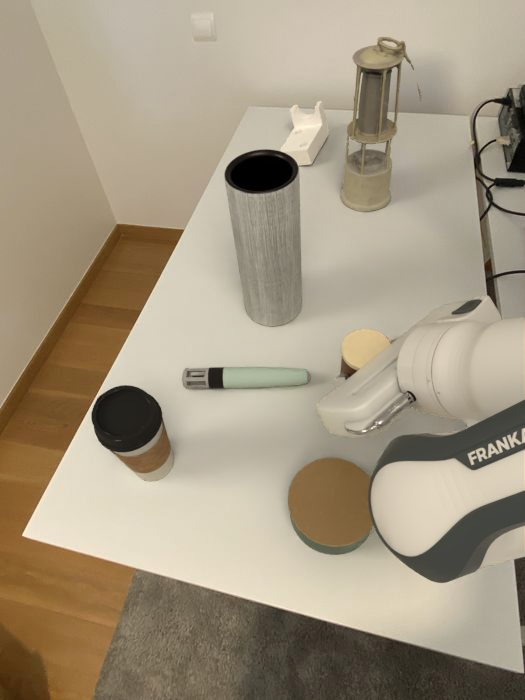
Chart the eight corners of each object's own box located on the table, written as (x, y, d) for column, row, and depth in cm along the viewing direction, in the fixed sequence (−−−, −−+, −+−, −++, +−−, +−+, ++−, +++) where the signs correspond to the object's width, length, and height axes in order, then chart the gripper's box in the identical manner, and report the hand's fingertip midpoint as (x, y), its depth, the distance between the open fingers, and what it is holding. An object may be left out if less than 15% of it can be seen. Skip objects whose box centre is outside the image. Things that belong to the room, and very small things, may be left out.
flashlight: (310, 358, 78) (184, 361, 80) (310, 371, 74) (178, 374, 76) (310, 377, 80) (187, 379, 81) (311, 391, 76) (181, 392, 77)
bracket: (302, 136, 120) (293, 105, 115) (329, 132, 117) (322, 100, 111) (282, 166, 113) (272, 135, 108) (311, 164, 110) (302, 132, 105)
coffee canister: (387, 376, 63) (396, 334, 57) (378, 413, 60) (386, 374, 54) (344, 365, 65) (348, 324, 58) (333, 401, 62) (335, 362, 55)
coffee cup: (149, 426, 75) (118, 371, 63) (194, 451, 72) (171, 398, 60) (113, 472, 71) (72, 423, 59) (159, 501, 68) (126, 455, 56)
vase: (289, 277, 91) (282, 141, 70) (311, 316, 86) (311, 180, 64) (237, 294, 90) (214, 160, 68) (256, 334, 84) (237, 201, 62)
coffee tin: (382, 484, 67) (387, 471, 64) (364, 568, 61) (367, 559, 58) (303, 461, 70) (302, 447, 67) (277, 538, 64) (276, 528, 61)
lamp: (338, 182, 107) (346, 27, 83) (400, 178, 106) (426, 20, 82) (342, 213, 101) (352, 55, 77) (407, 209, 100) (438, 49, 76)
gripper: (384, 465, 44) (309, 439, 57) (523, 339, 51) (427, 341, 63) (351, 407, 42) (281, 394, 55) (498, 285, 49) (405, 298, 62)
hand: (360, 365), depth 59 cm, fingers closed on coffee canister, 5 cm apart
